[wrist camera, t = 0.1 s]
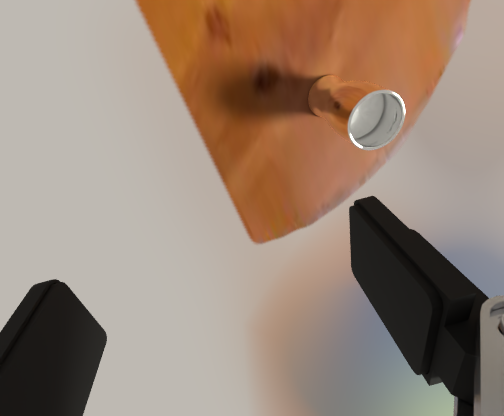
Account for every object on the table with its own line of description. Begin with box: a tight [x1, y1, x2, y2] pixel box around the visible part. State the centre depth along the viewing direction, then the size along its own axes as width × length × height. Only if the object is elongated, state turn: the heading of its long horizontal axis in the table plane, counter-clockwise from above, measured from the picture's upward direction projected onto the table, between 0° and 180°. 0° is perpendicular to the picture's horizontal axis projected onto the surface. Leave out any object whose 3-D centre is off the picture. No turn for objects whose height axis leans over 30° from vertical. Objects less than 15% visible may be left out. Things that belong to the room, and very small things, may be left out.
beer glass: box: [308, 75, 405, 150], centre depth 37 cm, size 7×7×15 cm
